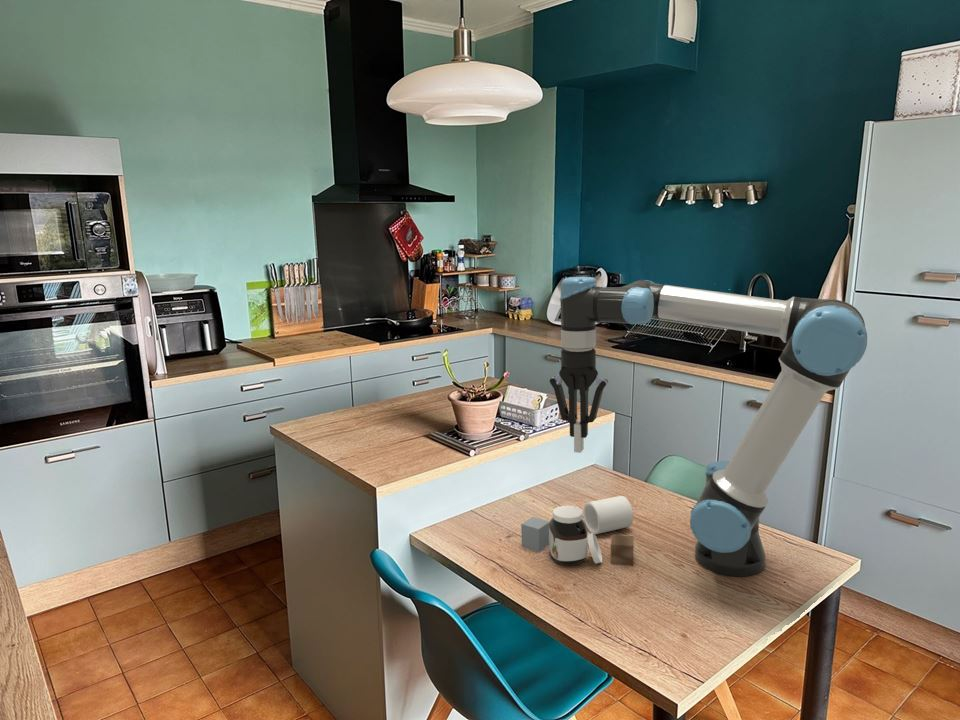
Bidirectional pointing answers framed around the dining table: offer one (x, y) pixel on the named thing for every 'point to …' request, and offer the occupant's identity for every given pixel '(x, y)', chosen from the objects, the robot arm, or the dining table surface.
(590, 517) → the mug
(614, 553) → the walnut block
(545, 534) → the slate block
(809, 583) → the dining table surface
